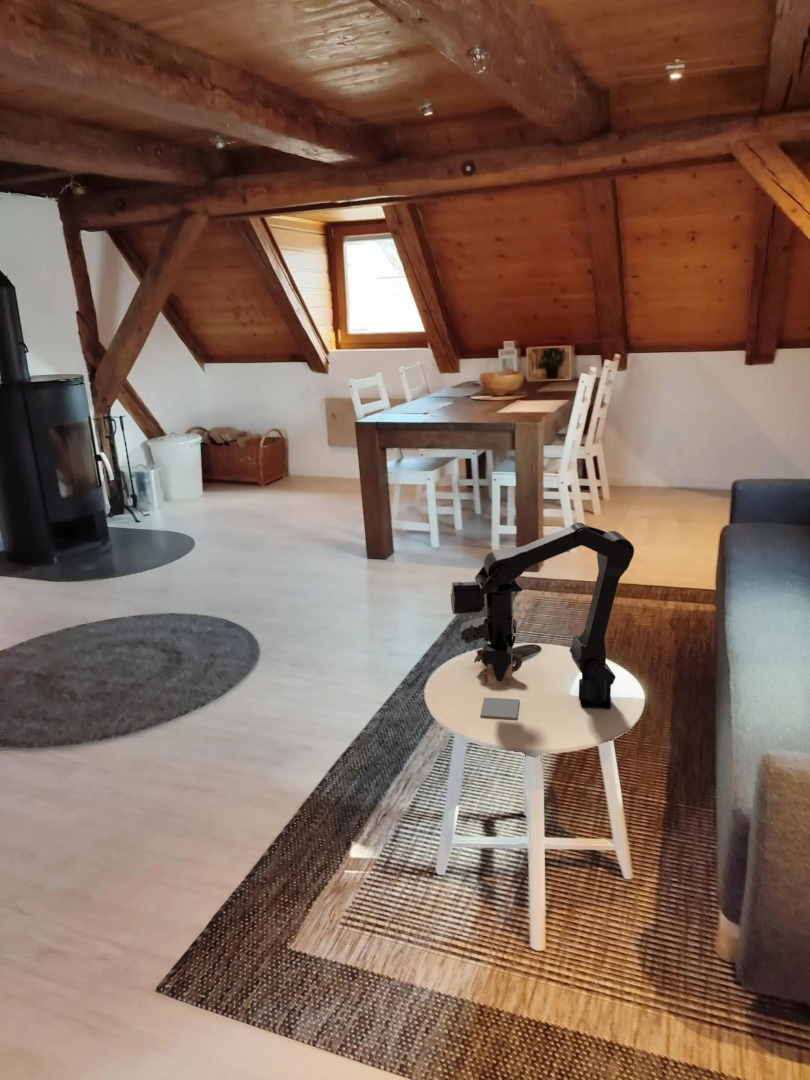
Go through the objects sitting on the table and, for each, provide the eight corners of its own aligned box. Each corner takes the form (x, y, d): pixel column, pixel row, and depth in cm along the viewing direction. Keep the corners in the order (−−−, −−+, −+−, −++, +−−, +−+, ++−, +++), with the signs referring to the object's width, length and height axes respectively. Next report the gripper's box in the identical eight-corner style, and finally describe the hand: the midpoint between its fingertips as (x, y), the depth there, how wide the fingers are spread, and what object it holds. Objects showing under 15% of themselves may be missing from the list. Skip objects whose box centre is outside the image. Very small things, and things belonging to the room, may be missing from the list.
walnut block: (512, 674, 174) (512, 654, 172) (510, 685, 169) (510, 664, 167) (489, 673, 175) (489, 653, 173) (487, 684, 170) (487, 663, 168)
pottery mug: (472, 684, 186) (467, 650, 188) (484, 684, 195) (480, 651, 197) (520, 678, 182) (515, 643, 184) (531, 678, 190) (526, 645, 192)
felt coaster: (519, 701, 177) (519, 699, 177) (516, 719, 169) (516, 717, 169) (484, 698, 178) (484, 697, 178) (480, 716, 171) (480, 715, 171)
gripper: (467, 592, 177) (469, 654, 182) (456, 626, 160) (458, 693, 164) (516, 594, 175) (517, 657, 179) (510, 628, 157) (511, 696, 162)
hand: (500, 675), depth 171 cm, fingers closed on walnut block, 5 cm apart
